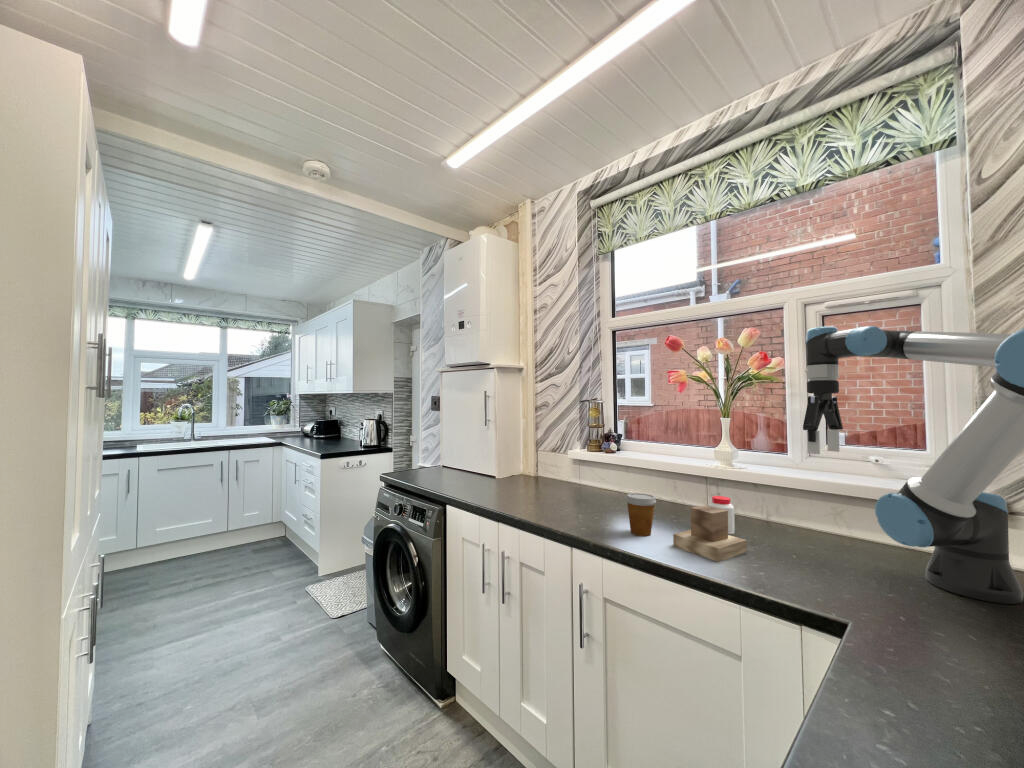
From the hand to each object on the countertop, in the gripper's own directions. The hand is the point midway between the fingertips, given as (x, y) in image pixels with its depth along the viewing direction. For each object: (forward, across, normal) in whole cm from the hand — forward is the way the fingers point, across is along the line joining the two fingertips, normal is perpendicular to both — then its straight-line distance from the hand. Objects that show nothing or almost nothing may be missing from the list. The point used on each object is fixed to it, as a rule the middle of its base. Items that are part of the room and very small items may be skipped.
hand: (823, 452), depth 119 cm
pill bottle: (+29, +7, -27) cm, 40 cm away
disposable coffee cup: (+29, +33, -39) cm, 59 cm away
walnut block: (+25, +27, -19) cm, 42 cm away
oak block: (+29, +27, -19) cm, 44 cm away
